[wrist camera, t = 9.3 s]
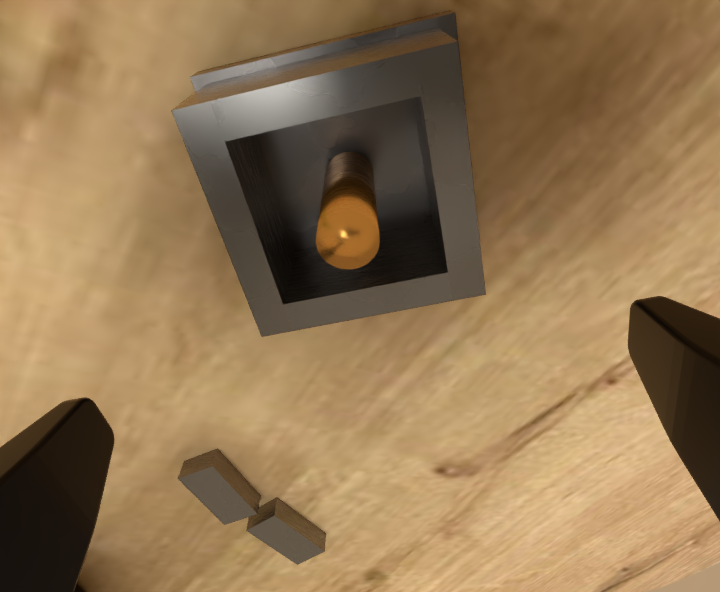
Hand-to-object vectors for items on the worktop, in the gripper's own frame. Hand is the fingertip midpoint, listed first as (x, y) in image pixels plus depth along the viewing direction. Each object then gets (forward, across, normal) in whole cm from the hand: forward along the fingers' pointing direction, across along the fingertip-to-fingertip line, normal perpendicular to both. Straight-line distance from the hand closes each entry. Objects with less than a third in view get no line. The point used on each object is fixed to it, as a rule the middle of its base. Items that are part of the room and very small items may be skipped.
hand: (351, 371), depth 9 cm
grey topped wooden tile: (+11, +10, +15) cm, 21 cm away
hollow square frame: (+10, 0, 0) cm, 10 cm away
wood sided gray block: (+11, +8, +19) cm, 24 cm away
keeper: (+11, 0, 0) cm, 11 cm away
